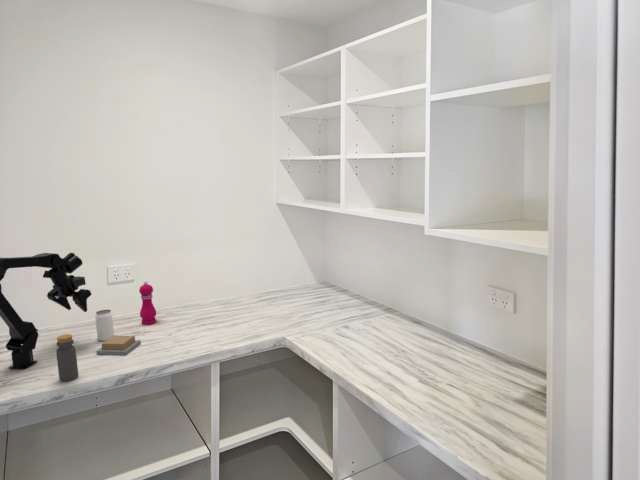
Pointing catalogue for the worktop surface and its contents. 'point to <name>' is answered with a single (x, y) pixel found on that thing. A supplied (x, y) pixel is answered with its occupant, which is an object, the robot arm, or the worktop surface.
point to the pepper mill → (147, 304)
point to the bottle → (66, 358)
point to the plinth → (119, 352)
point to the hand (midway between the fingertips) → (78, 310)
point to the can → (104, 325)
